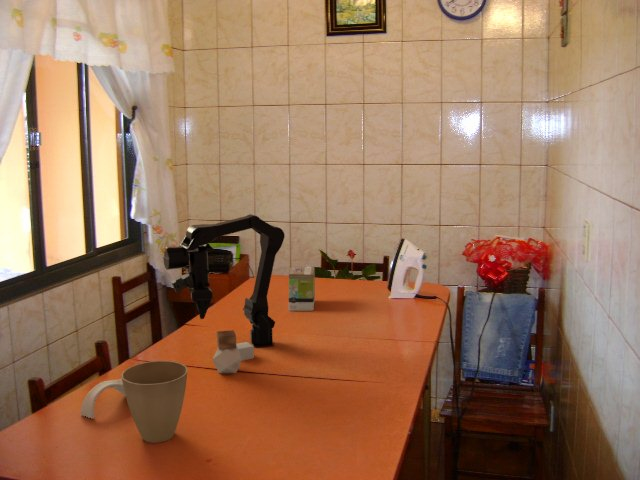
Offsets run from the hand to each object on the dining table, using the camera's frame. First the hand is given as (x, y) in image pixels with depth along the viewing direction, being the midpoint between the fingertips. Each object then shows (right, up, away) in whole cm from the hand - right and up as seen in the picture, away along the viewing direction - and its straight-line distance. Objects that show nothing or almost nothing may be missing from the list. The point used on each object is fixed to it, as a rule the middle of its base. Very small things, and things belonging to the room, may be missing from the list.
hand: (200, 314), depth 217 cm
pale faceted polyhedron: (+10, -16, -12) cm, 22 cm away
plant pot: (-1, -23, -54) cm, 59 cm away
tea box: (+30, -3, +58) cm, 65 cm away
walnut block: (+10, -8, -14) cm, 19 cm away
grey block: (+13, -13, -1) cm, 19 cm away
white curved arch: (-15, -20, -34) cm, 42 cm away
